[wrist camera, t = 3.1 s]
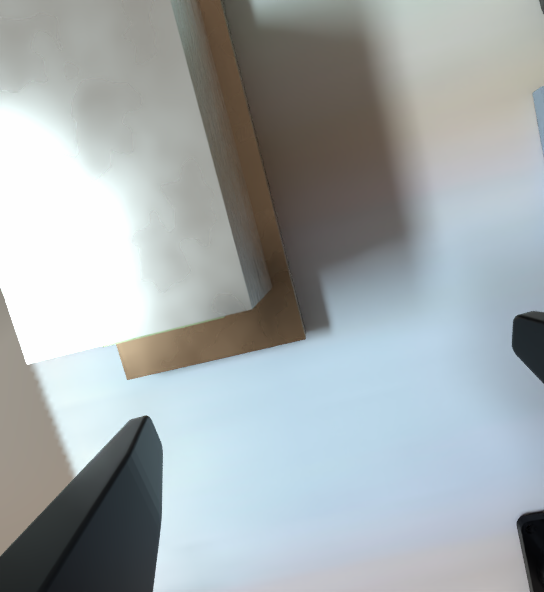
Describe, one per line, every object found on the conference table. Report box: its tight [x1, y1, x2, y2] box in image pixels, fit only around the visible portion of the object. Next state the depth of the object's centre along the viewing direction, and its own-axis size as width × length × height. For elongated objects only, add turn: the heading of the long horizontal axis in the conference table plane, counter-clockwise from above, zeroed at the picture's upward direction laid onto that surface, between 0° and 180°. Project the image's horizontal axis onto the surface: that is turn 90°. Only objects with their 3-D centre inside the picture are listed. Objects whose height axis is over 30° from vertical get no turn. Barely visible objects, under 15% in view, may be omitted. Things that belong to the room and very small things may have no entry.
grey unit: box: [0, 0, 306, 380], centre depth 15 cm, size 20×10×8 cm, turn 15°
